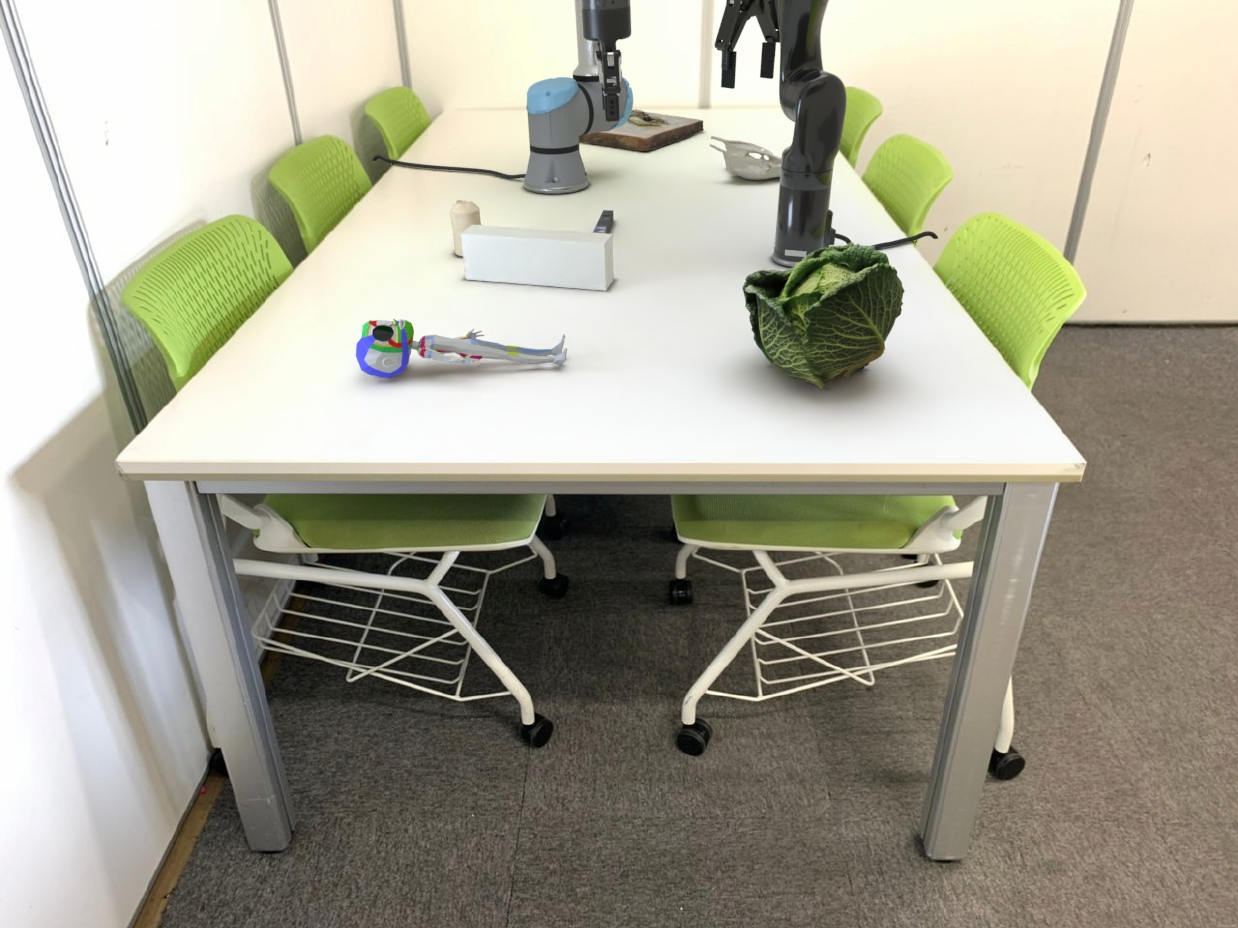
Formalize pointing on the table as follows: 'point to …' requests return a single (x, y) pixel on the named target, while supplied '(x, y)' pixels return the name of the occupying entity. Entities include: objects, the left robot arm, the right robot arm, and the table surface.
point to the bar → (538, 257)
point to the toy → (435, 349)
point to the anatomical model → (749, 160)
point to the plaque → (646, 131)
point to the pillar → (604, 222)
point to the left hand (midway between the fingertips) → (747, 83)
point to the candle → (463, 221)
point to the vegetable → (825, 311)
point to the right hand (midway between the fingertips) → (610, 115)
